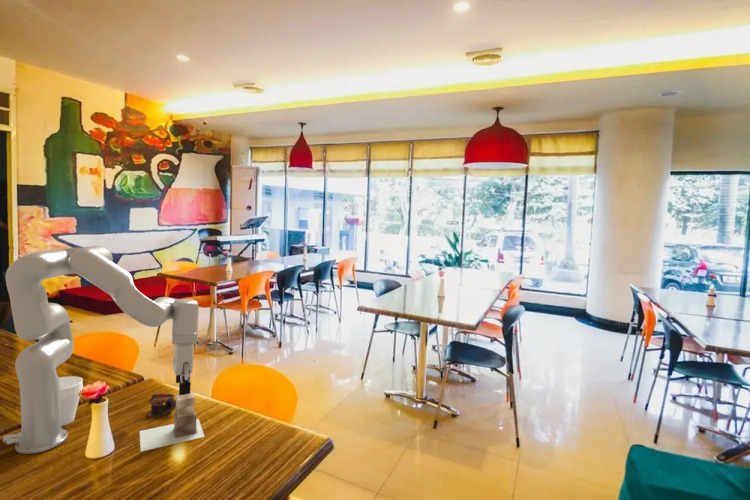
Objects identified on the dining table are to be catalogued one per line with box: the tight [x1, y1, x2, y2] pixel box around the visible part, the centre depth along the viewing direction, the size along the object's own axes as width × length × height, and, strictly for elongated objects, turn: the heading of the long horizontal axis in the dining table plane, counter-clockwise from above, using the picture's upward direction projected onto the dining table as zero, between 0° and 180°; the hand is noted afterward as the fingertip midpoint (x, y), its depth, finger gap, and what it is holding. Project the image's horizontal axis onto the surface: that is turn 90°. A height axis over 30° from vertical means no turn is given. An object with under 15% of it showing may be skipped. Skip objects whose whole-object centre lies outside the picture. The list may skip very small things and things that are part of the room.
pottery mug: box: [147, 393, 176, 418], centre depth 147 cm, size 12×9×8 cm
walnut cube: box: [173, 409, 197, 437], centre depth 134 cm, size 6×6×6 cm
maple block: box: [175, 391, 195, 418], centre depth 133 cm, size 5×5×6 cm
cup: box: [59, 375, 84, 427], centre depth 137 cm, size 12×12×14 cm
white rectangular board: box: [139, 418, 205, 452], centre depth 132 cm, size 18×13×1 cm
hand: (182, 388), depth 133 cm, fingers open, 9 cm apart
